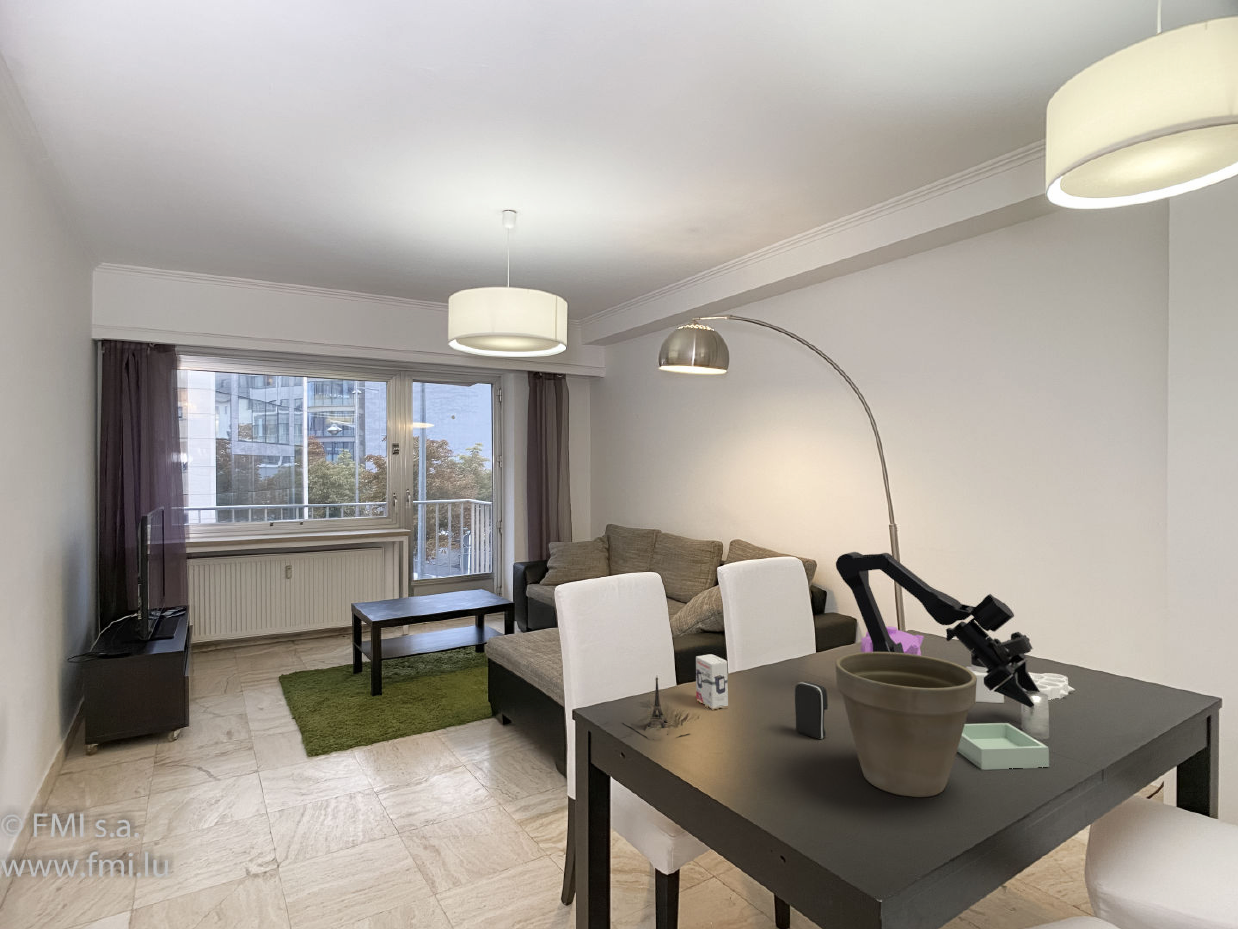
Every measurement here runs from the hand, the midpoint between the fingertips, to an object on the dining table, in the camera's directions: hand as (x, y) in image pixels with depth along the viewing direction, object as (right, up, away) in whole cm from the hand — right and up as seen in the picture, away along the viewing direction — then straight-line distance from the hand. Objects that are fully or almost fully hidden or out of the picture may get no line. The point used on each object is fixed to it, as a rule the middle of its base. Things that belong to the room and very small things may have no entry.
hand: (1036, 700), depth 155 cm
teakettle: (-10, -9, +54) cm, 55 cm away
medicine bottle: (+2, -8, +25) cm, 26 cm away
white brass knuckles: (+20, -9, +31) cm, 38 cm away
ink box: (-69, -9, +23) cm, 73 cm away
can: (0, -8, 0) cm, 8 cm away
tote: (-15, -8, -10) cm, 20 cm away
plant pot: (-38, -8, -22) cm, 45 cm away
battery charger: (-49, -9, +2) cm, 50 cm away
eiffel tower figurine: (-84, -10, +7) cm, 85 cm away
